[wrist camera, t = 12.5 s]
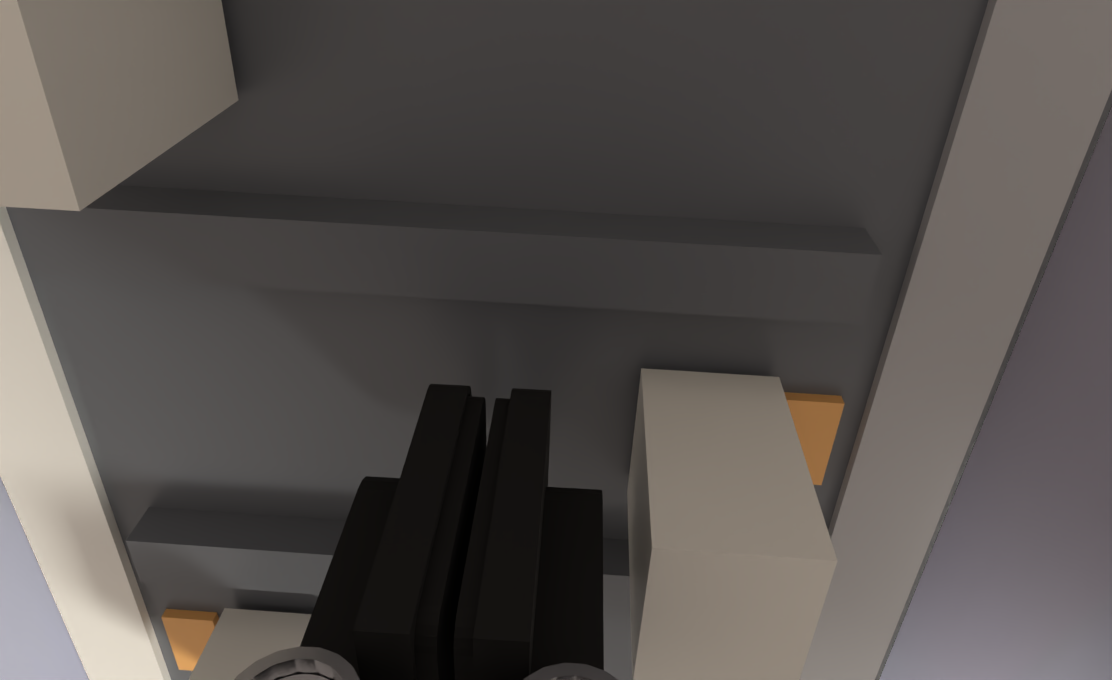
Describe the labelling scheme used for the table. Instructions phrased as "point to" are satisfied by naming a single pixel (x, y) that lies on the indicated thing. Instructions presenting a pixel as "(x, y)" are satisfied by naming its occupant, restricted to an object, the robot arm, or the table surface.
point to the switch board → (536, 281)
